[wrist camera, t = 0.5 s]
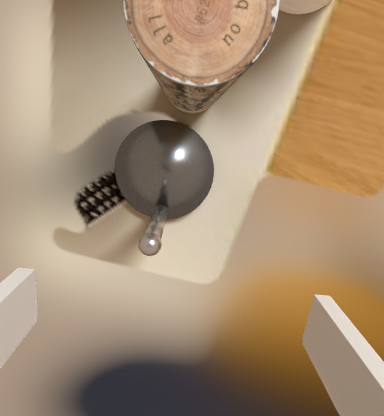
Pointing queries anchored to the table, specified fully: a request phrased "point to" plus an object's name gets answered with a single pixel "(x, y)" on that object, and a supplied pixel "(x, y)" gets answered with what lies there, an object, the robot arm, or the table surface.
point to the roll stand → (163, 175)
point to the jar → (301, 6)
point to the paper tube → (199, 44)
